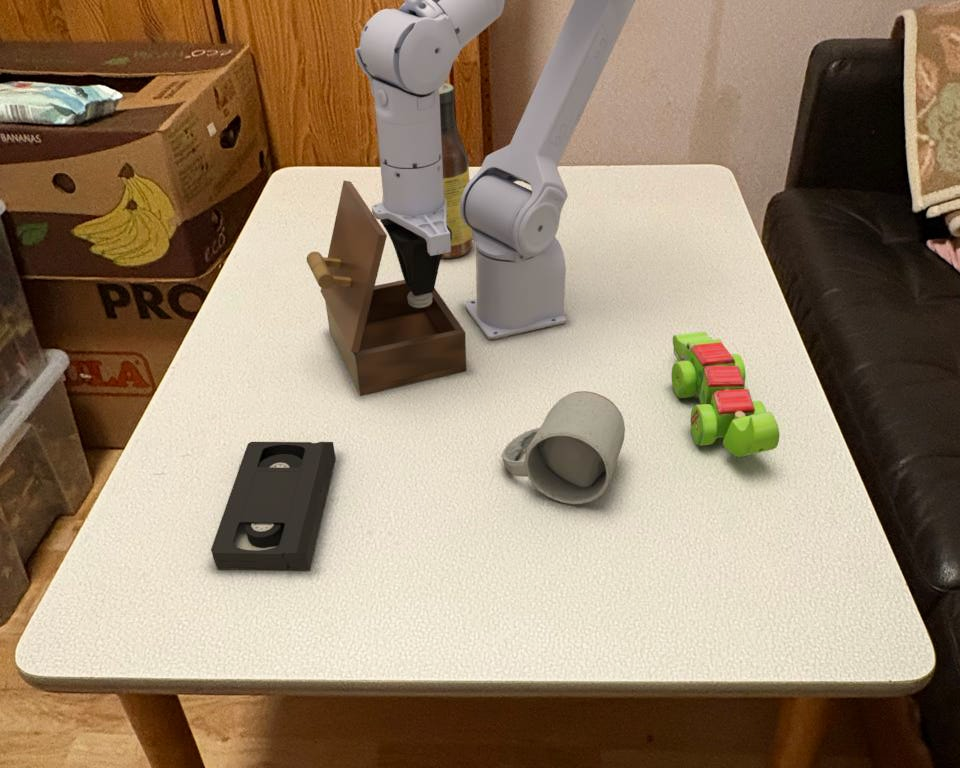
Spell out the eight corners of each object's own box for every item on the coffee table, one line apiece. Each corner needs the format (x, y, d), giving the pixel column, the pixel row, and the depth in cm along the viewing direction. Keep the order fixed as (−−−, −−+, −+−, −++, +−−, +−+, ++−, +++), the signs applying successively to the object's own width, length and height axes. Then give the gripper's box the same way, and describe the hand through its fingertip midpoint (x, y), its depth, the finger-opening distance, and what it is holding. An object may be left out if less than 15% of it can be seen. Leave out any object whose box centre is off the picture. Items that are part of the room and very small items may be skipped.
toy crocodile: (658, 358, 97) (665, 309, 93) (719, 354, 97) (729, 305, 93) (709, 481, 82) (720, 429, 78) (781, 476, 83) (795, 423, 79)
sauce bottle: (482, 244, 117) (479, 84, 103) (455, 265, 113) (449, 101, 100) (439, 232, 119) (432, 74, 106) (412, 252, 115) (400, 91, 102)
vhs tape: (252, 457, 86) (248, 441, 84) (335, 458, 85) (333, 441, 84) (214, 569, 75) (209, 552, 74) (309, 570, 75) (306, 553, 74)
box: (428, 312, 105) (426, 275, 101) (466, 371, 96) (465, 332, 93) (329, 333, 102) (324, 295, 98) (360, 395, 93) (355, 356, 90)
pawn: (420, 311, 92) (417, 276, 89) (402, 302, 93) (399, 267, 91) (438, 301, 93) (436, 266, 91) (420, 292, 95) (417, 258, 92)
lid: (351, 181, 91) (310, 174, 90) (387, 235, 83) (343, 229, 81) (327, 292, 98) (289, 288, 96) (358, 353, 89) (317, 350, 88)
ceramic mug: (625, 455, 85) (632, 388, 80) (606, 513, 79) (612, 444, 74) (517, 435, 88) (516, 369, 83) (491, 490, 82) (489, 422, 77)
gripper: (347, 135, 87) (361, 263, 96) (393, 195, 77) (404, 332, 86) (417, 124, 89) (424, 250, 98) (470, 181, 79) (473, 316, 88)
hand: (419, 288), depth 92 cm, fingers closed on pawn
